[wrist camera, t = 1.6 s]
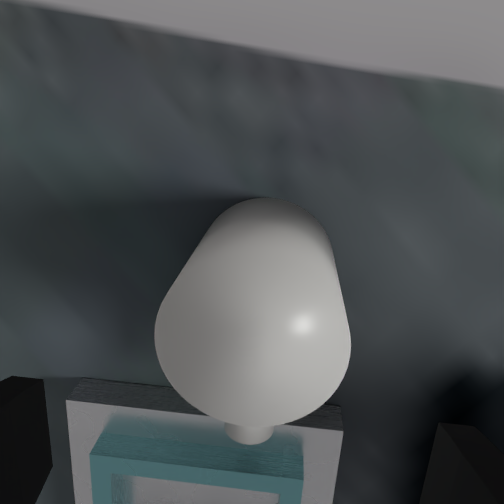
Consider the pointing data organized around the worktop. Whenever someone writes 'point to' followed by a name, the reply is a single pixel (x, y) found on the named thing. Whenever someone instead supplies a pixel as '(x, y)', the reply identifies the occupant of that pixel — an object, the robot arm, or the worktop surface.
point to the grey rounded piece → (256, 320)
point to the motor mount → (192, 451)
